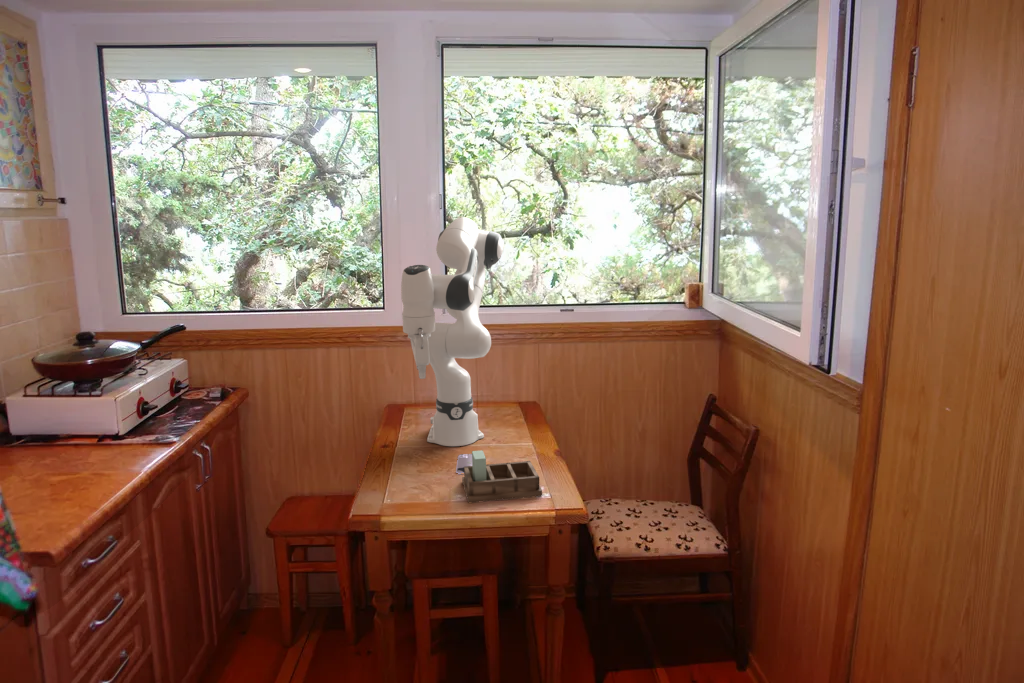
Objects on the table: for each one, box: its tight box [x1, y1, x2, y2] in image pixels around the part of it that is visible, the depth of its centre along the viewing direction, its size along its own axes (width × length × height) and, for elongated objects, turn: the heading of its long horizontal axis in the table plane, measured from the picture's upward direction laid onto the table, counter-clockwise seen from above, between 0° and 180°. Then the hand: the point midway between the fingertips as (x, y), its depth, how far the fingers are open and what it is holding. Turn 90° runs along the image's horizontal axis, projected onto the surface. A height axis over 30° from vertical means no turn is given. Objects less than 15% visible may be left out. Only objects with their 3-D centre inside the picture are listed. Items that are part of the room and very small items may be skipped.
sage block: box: [471, 449, 487, 482], centre depth 196 cm, size 6×3×9 cm, turn 11°
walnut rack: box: [461, 460, 543, 503], centre depth 197 cm, size 14×20×5 cm
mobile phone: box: [455, 453, 472, 475], centre depth 216 cm, size 8×1×15 cm
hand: (421, 373), depth 199 cm, fingers open, 8 cm apart
